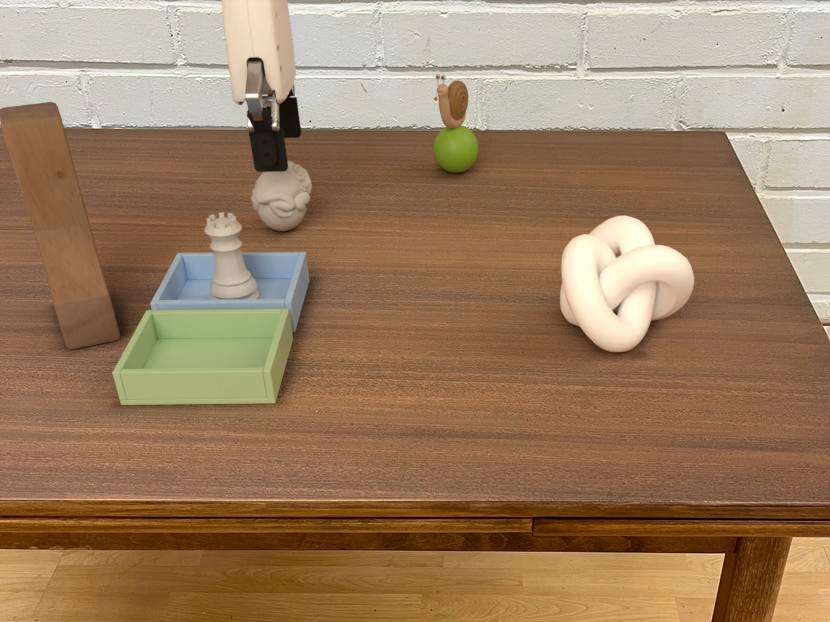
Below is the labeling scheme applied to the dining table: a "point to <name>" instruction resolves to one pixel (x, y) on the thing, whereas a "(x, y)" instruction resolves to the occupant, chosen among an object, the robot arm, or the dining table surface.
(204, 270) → the blue tray
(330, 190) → the dining table surface
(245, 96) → the robot arm
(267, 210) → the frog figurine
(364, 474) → the dining table surface
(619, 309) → the white knot sculpture
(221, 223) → the rook chess piece
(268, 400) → the green tray
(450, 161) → the snail figurine
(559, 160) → the dining table surface
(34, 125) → the wooden block
